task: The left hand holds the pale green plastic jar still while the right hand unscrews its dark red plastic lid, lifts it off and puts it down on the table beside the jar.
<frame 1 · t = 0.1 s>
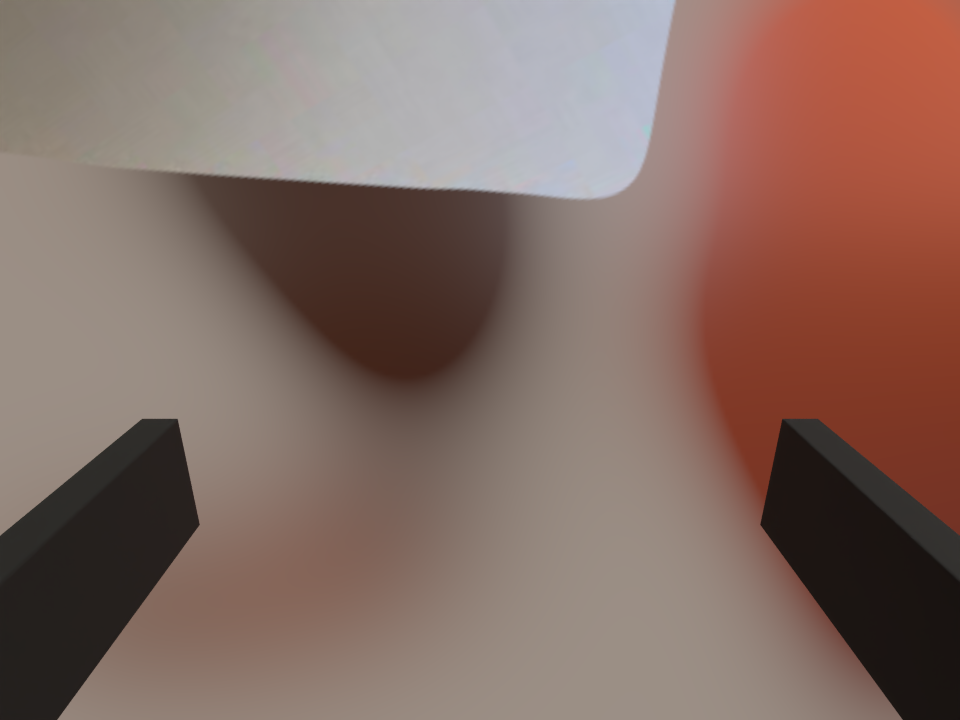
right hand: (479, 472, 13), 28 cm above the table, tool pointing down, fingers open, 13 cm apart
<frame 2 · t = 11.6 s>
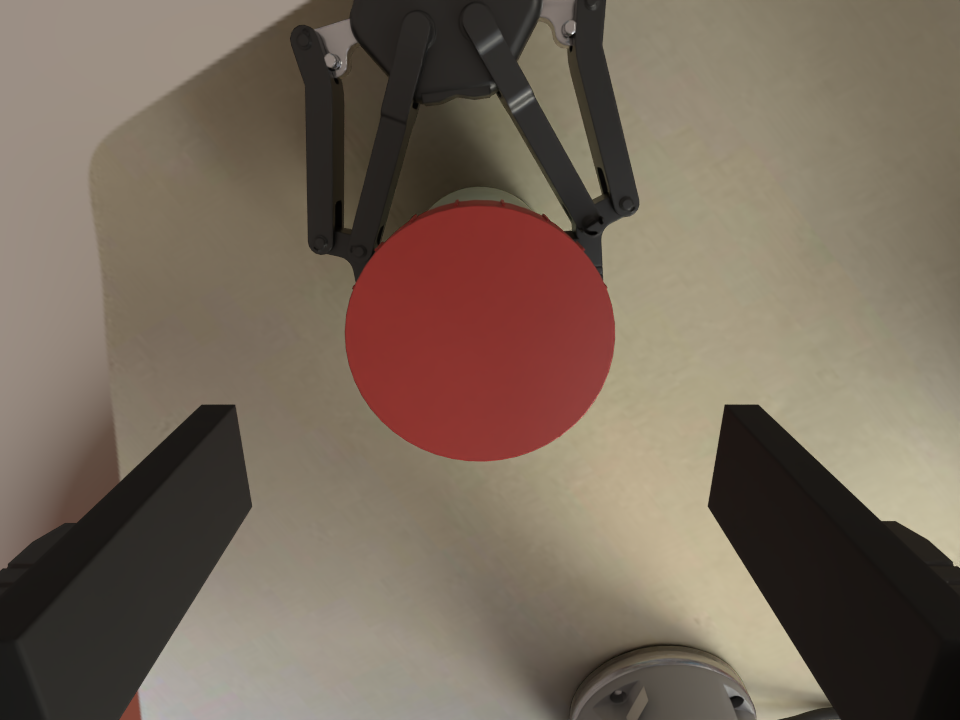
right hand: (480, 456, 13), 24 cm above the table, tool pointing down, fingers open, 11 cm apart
left hand: (490, 364, 31), fingers closed on jar, 9 cm apart
jar: (479, 258, 36), on the table, touching left hand
lid: (479, 341, 21), point 16 cm above the table, screwed on, not yet turned
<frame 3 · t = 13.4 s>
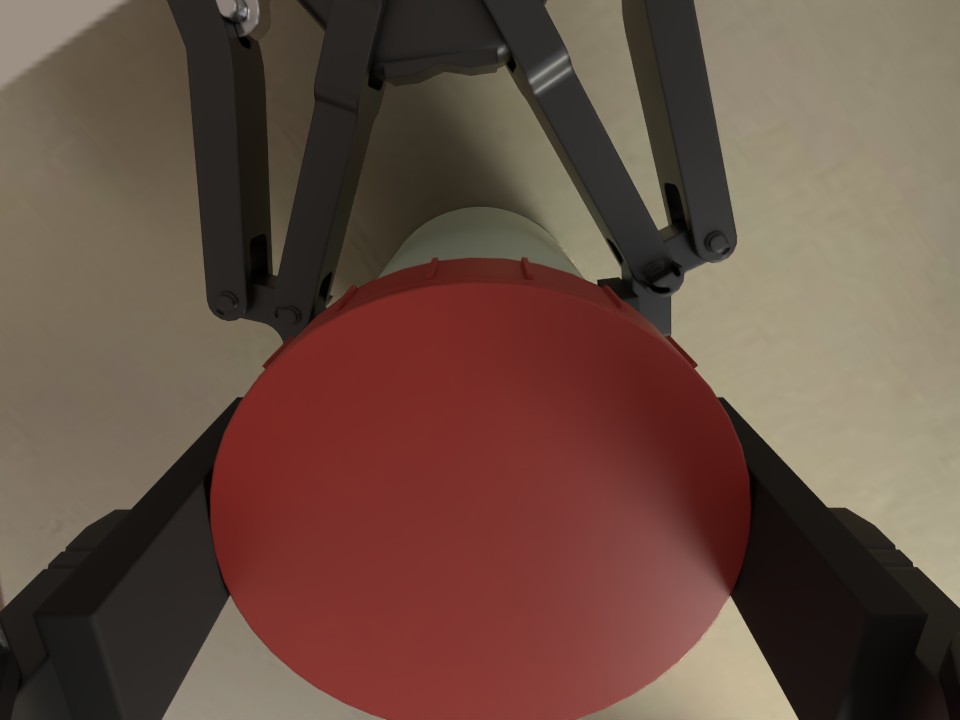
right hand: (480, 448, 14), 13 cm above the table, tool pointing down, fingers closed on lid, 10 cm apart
left hand: (495, 474, 21), fingers closed on jar, 9 cm apart
jar: (480, 306, 26), on the table, touching left hand
lid: (480, 533, 11), point 16 cm above the table, screwed on, not yet turned, touching right hand
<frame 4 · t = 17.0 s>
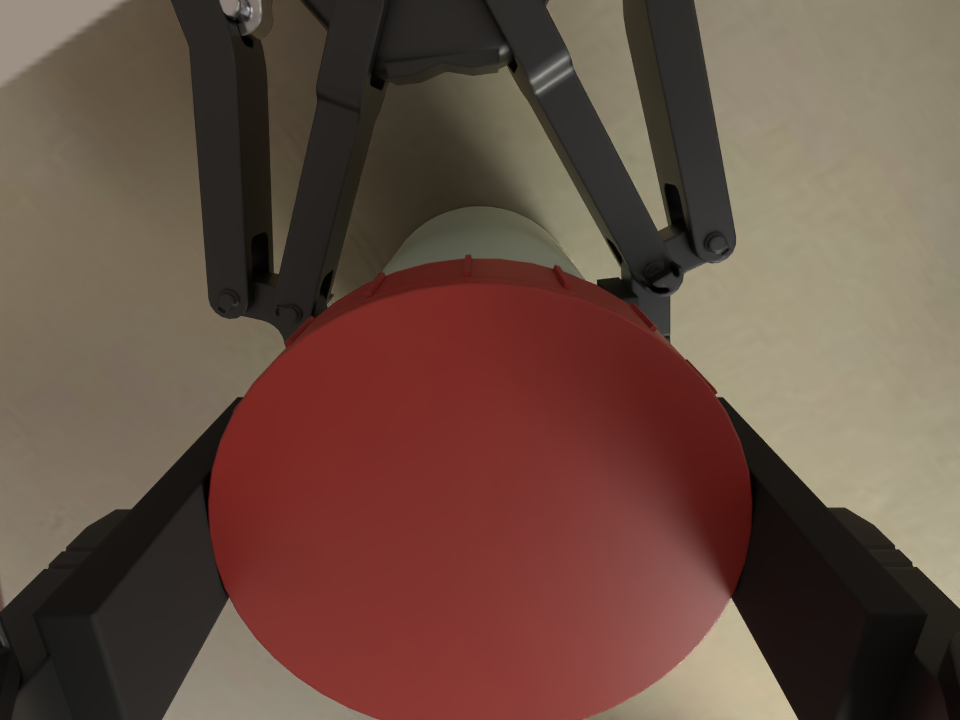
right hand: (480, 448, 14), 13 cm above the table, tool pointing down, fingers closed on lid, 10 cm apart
left hand: (494, 473, 21), fingers closed on jar, 9 cm apart
jar: (480, 305, 26), on the table, touching left hand
lid: (480, 535, 11), point 16 cm above the table, turned 107° so far, risen 0.1 cm, still on its thread, touching right hand
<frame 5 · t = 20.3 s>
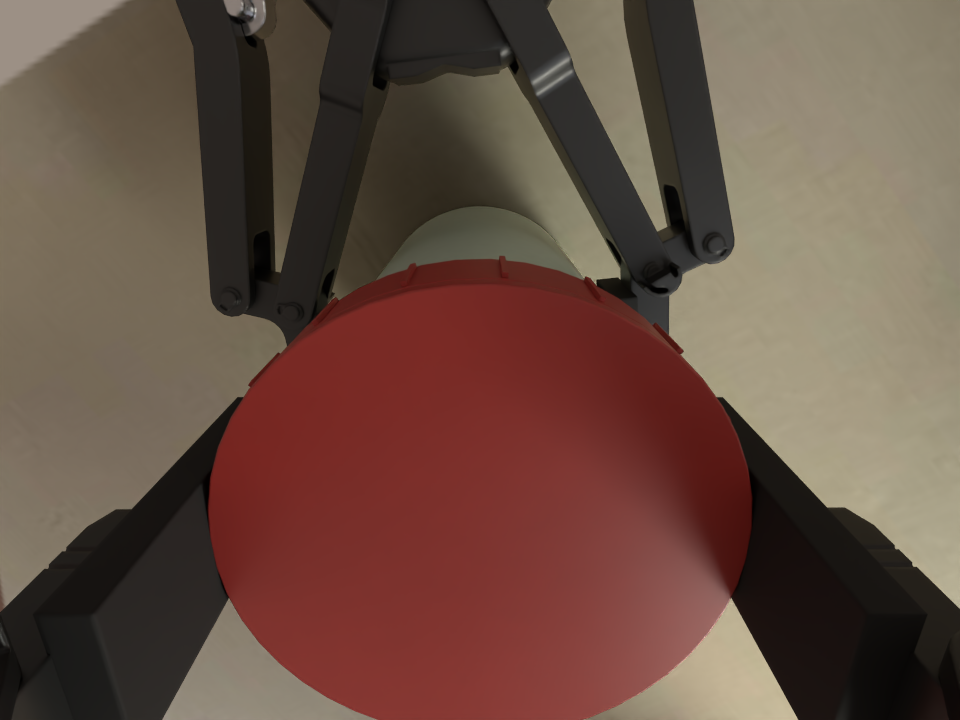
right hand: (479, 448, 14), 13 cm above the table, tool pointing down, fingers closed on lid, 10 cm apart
left hand: (494, 471, 21), fingers closed on jar, 9 cm apart
jar: (480, 305, 26), on the table, touching left hand
lid: (480, 535, 11), point 16 cm above the table, turned 214° so far, risen 0.3 cm, still on its thread, touching right hand
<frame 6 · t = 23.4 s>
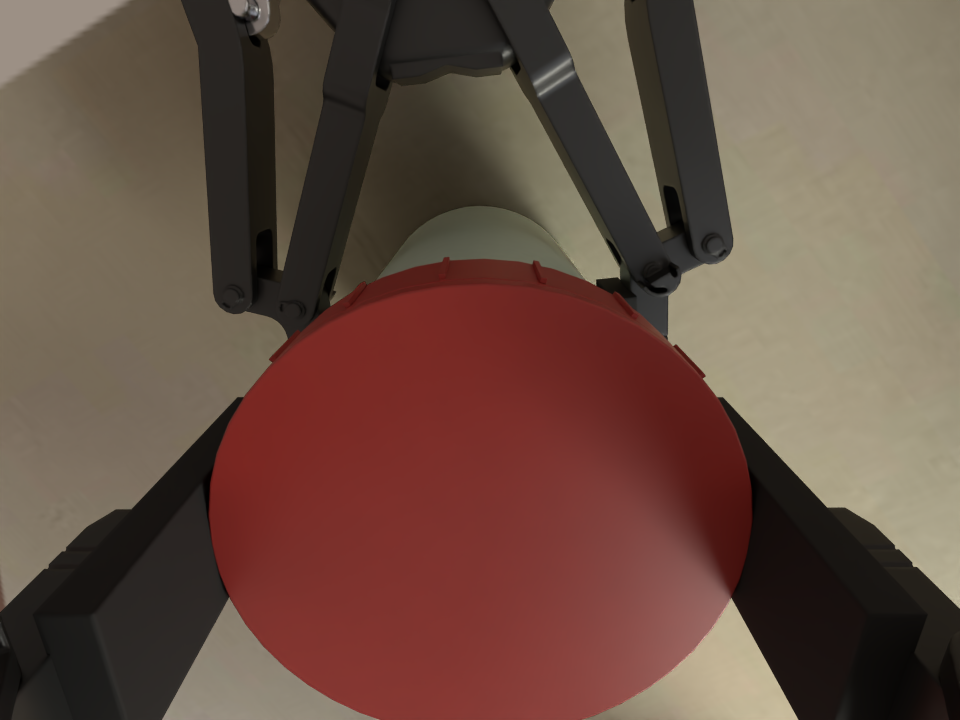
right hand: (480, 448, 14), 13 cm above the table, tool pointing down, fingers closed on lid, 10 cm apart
left hand: (493, 469, 22), fingers closed on jar, 9 cm apart
jar: (480, 304, 26), on the table, touching left hand
lid: (480, 535, 11), point 16 cm above the table, turned 321° so far, risen 0.4 cm, still on its thread, touching right hand
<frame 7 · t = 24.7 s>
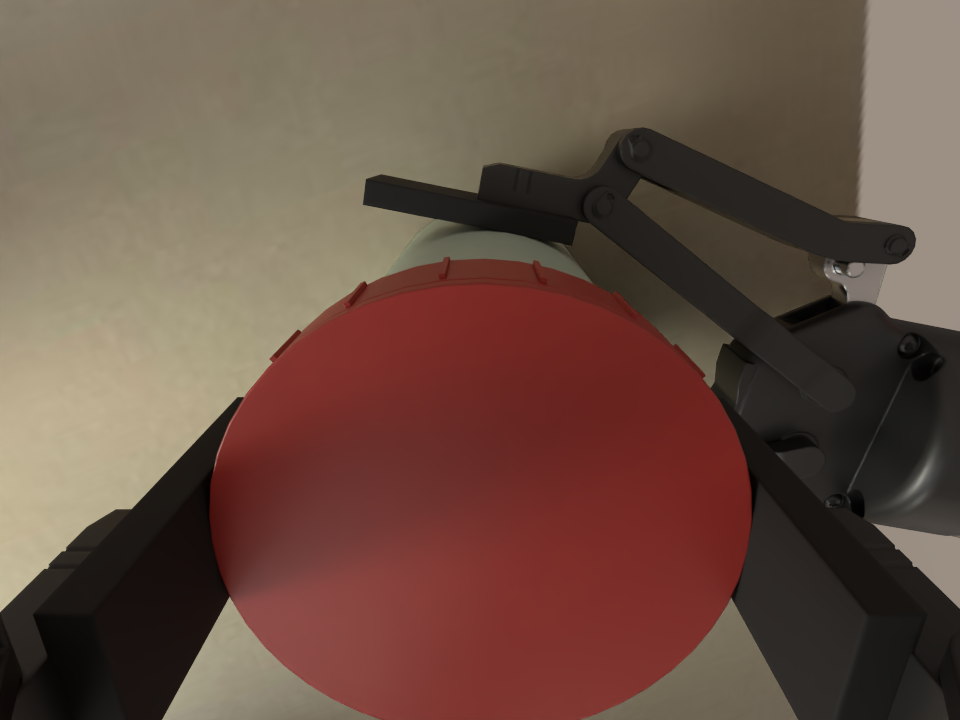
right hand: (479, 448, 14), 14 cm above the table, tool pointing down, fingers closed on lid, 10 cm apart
jar: (485, 301, 27), on the table, touching left hand
lid: (480, 535, 11), point 17 cm above the table, off its thread, touching right hand
when the right hand's fingers open (0 cm above the table, at t = 29.6 s): lid drops 2 cm, point 2 cm above the table.
when the left hand's fingers open (6 cm above the table, at t = 31.3 s): jar stays where it is, on the table.
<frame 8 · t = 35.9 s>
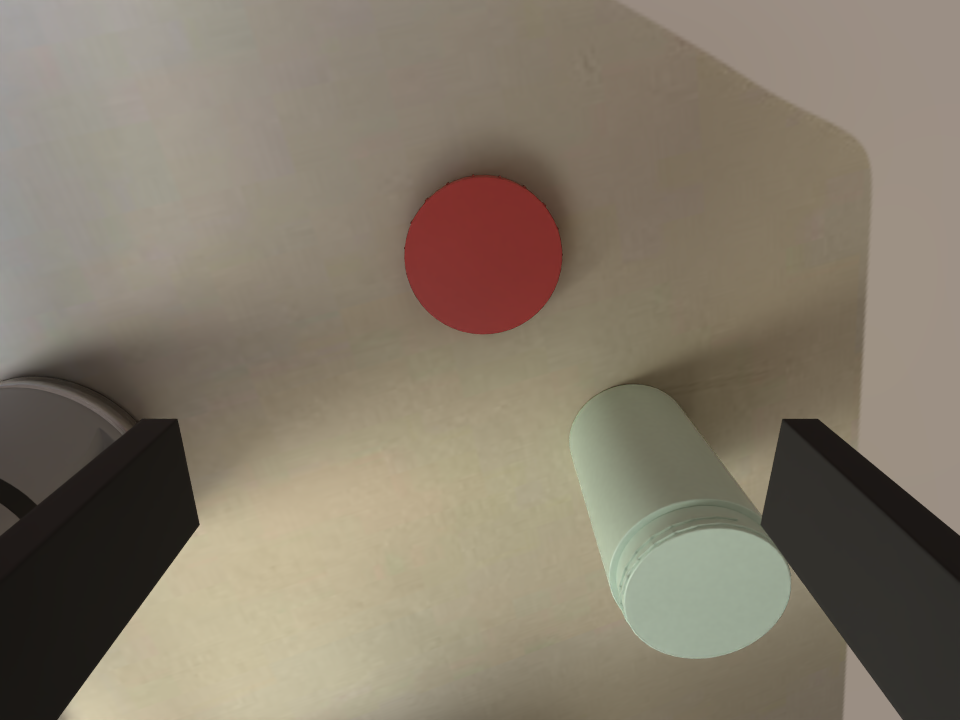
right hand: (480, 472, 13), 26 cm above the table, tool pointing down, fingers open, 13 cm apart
jar: (627, 437, 42), on the table
lid: (483, 258, 36), point 2 cm above the table, off its thread
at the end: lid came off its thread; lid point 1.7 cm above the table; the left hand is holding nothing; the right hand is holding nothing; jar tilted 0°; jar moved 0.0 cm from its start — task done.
